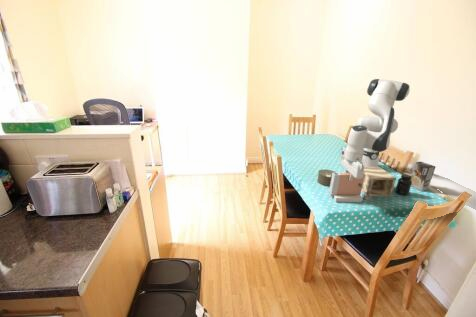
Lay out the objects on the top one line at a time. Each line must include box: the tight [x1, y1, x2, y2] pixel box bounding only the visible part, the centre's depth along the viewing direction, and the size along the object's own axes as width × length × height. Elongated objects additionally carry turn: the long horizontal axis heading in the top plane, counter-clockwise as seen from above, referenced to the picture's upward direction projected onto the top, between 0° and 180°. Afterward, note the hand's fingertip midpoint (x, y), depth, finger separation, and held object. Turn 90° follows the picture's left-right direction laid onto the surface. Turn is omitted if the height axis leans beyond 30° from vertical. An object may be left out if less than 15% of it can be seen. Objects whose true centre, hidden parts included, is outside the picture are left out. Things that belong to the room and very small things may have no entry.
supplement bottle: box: [394, 173, 412, 196], centre depth 137 cm, size 7×7×12 cm
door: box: [328, 172, 365, 196], centre depth 130 cm, size 4×17×13 cm, turn 90°
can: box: [317, 169, 337, 188], centre depth 150 cm, size 12×12×7 cm
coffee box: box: [410, 161, 436, 192], centre depth 144 cm, size 9×6×16 cm
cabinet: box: [361, 166, 397, 200], centre depth 139 cm, size 20×17×12 cm
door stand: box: [328, 192, 364, 203], centre depth 133 cm, size 10×15×2 cm, turn 90°
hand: (348, 178), depth 129 cm, fingers closed on door, 2 cm apart
